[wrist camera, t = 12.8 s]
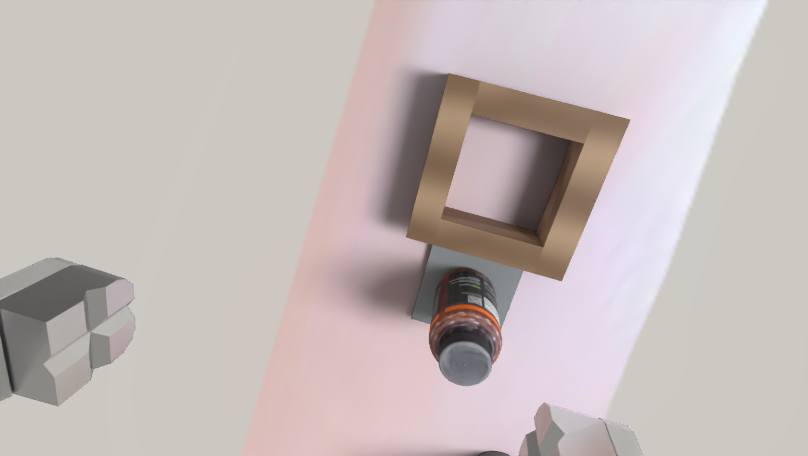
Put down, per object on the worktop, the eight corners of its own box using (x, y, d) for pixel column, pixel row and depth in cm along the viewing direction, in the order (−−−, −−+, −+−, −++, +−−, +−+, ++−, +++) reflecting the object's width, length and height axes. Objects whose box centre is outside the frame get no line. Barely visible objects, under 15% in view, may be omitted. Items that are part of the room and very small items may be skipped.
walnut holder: (451, 73, 36) (448, 73, 32) (613, 115, 35) (630, 119, 31) (411, 222, 41) (406, 237, 37) (553, 262, 40) (561, 281, 36)
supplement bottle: (443, 323, 43) (435, 402, 33) (428, 272, 42) (414, 337, 31) (502, 313, 42) (512, 392, 31) (488, 260, 40) (494, 324, 30)
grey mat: (434, 239, 41) (433, 241, 40) (523, 264, 40) (524, 267, 40) (412, 315, 44) (411, 318, 44) (495, 339, 44) (495, 343, 43)
